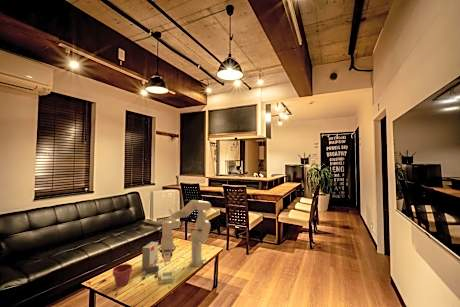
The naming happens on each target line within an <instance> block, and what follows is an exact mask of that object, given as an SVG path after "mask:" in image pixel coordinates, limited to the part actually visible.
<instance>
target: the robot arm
mask: <svg viewBox="0 0 460 307" xmlns="http://www.w3.org/2000/svg"><path fill="white" fill-rule="evenodd" d="M211 208H212V204H211V202H209V201H206V200H205V201H204V200H197V199H192V200H189V202H188V203H187V204H185V206H184V207H183V208H181V209H179V210H177V211H175V212H173V213H172V214H171V215H169V216H168V217H167V219H166V220H164V221H162V224H161V225H162V226H161V229H162V237H161V239H160V240H161V241H160V246H158V252H159V253H161V256H162V258H163V253H164V250H170V251H171V253H170V258H171V259H172V257H173V252H174V251H175V250H176V249H177V246H176V245H175V244H174V233H172V230H174V229H178V228H180V226H181V225H182V222H181V220H179V219H182V218H186V217H189V216H190V215H191V214H192V213H193V212H194V211H196V210H197V212H198V213H197V218H196V221H195V225H194V226H195V228H196V229H194V230H192V231H191V232H190V241H191V242H190V244H191V261H189V265H190V266H191V267H200V266H202V265H203V264H204V262H207V258H205V257H204V258H202V244H204V243H206V242H207V240H208V237H209V233H210V231H211V226H212V225H211V222H210V221H209V220H207V215H208V214H207V211H208V212H209V211H210V210H211Z"/></svg>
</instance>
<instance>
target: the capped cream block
mask: <svg viewBox="0 0 460 307" xmlns="http://www.w3.org/2000/svg"><path fill="white" fill-rule="evenodd" d="M170 253H171V251H170V250H164V253H163V257H162V259H163V263H171V259H172V257H171V258H170Z"/></svg>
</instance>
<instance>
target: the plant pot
mask: <svg viewBox="0 0 460 307" xmlns="http://www.w3.org/2000/svg"><path fill="white" fill-rule="evenodd" d="M132 272H133V265H132V264H130V263H124V264H123V263H122V264H119V265H116V266H115V267H113V269H112V276H113V277H114V280H115V286H116V287H118V288H121V287H125V286H127V285H128V284H129V282H130V278H131V273H132Z"/></svg>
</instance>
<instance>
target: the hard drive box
mask: <svg viewBox="0 0 460 307" xmlns="http://www.w3.org/2000/svg"><path fill="white" fill-rule="evenodd" d="M158 248H159V242H158V241H150V242H149V243H148V244H146V245H145V246H143V247H142V249H141V250H142V252H141V253H142V256H141V257H142V258H141V261H142V262H141V270H144V271H145V267H150V266H157V264H158V263H159V251H158Z"/></svg>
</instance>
